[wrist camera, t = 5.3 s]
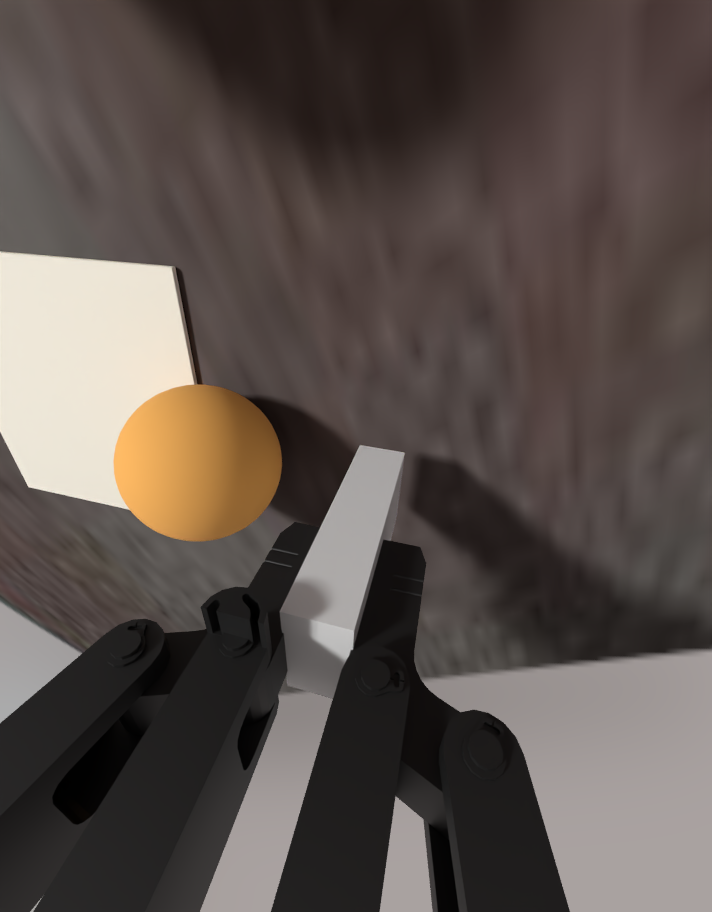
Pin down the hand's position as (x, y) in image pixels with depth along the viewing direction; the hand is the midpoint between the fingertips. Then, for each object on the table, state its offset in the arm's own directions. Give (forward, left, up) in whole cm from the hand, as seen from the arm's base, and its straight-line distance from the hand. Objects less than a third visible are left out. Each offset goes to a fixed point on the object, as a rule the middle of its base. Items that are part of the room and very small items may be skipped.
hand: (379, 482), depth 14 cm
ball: (+6, 0, +1) cm, 6 cm away
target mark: (+14, 0, -2) cm, 14 cm away
